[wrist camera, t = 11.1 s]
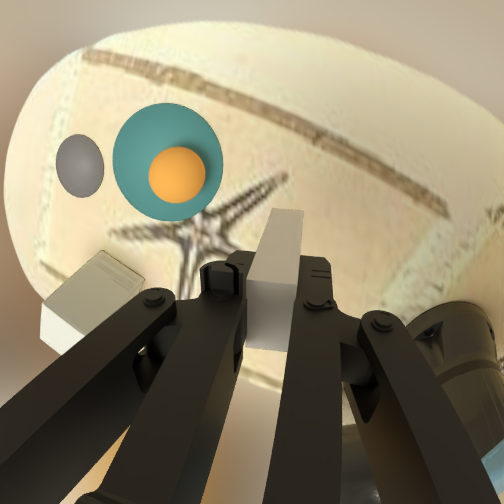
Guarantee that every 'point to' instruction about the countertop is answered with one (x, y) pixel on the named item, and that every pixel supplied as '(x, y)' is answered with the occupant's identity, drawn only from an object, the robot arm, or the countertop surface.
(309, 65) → the countertop surface
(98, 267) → the supplement box
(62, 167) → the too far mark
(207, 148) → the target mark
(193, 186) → the ball
